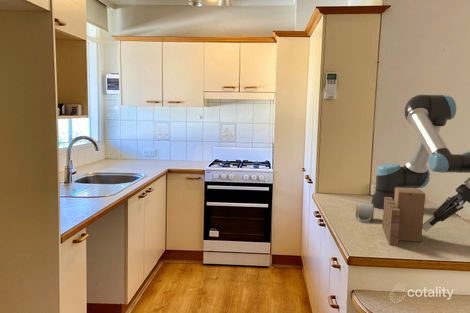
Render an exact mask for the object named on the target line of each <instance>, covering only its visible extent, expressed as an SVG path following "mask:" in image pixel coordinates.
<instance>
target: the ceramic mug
mask: <svg viewBox="0 0 470 313" xmlns="http://www.w3.org/2000/svg"><path fill="white" fill-rule="evenodd" d="M374 210H375V207H374V204H371V203H358V204H356V206H355V218H356V219H357V220H358V221H359V222H361V223H364V222H366V223H369V222H370V221H374V216H375V215H374V214H375V212H374Z"/></svg>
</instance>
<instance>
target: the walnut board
mask: <svg viewBox="0 0 470 313" xmlns="http://www.w3.org/2000/svg"><path fill="white" fill-rule="evenodd" d="M382 210H383V214H382V225H381V226H382V230H383V232H384V235H385V238H386V241H387V243H388V245H389V246H396V247H397V246H399V245H398V243H399V240H398V233H399V220H400V210H399V208H398V207H397V205H396V203H395V202H394V200H393V199H392V197H384V209H382Z"/></svg>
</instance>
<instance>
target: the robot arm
mask: <svg viewBox="0 0 470 313" xmlns="http://www.w3.org/2000/svg"><path fill="white" fill-rule="evenodd" d="M456 113H457V105H456V100H455V99H454V98H453V97H452V96H450V95H446V94H445V95H444V94H417V95H415V96H413V97H411V98H410V99H409V100H408V101H407V103H406V104H405V106H404V117H405V119H406V121H407V123H408V124H411V125H412V127H413V129H414V130H415V132H416V133H417V137H416V140H415V144H414V146H413V149H412V151H411V154H410V157H409V159H408V160H406V161H405V163H404V166H400V165H401V164H400V163H399V164H398V163H383V164H379V165H378V166H377V169H376V174H375V176H376V177H375V191H374V194H373V196H372V198H371V201H370V204H374V208H376V209H381V210H384V197H392V199H393V200H394V195H395V188H396V187H398V188H412V189H422V188H425V187H426V186H427V185H428V184H429V181H430V178H431V177H430V176H431V173H430V171H431V172H435V173H464V174H465V173H466V174H468V173H469V174H470V151H466V152H463V153H462V154H459V153H457V154H454V153H453V154H452V153H451V151H450V149H449V148H448V146H447V145H446V143H445V142H444V139H442V137H441V135H440V133H439V132H440V130H441V128H442V127H445V126H446V124H447V122H448V121H450V120H453V119H454V118H455V116H456ZM427 164H428V166H427ZM455 192H456V194H455V195H453V196H448V197H447V199H446V200H445V201H444V202H443V203H442V204H441V205H440V206H438V207H437V209H436V210H434V211H433V213H432V216H431V217H430V218H428V219H427V220H426V221H424V222H423V227H422V230H424V231H425V232H428V231H429V230H430V229H432V228H433V227H434V226H435V225H436V224H438V223H439V222H444V221H445V220H447V219H449V218H450V217H452V215H454V214H456V213H457V212H459V211H461V210H462V209H464V208H465V207H464V205H465V203H466V202H467V203H468V204H470V176H469V177H468V178H467V179H466V180H464V181H463V183H462V184H460V185H459V186H458V187H457V188H455Z"/></svg>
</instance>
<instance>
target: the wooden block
mask: <svg viewBox="0 0 470 313" xmlns="http://www.w3.org/2000/svg"><path fill="white" fill-rule="evenodd" d="M425 201H426V193H425V192H424V191H423V190H422V189H421V188H416V189H415V188H398V187H396V188H395V195H394V202H395V203H396V205H397V207H398V208H399V210H400V220H399V233H398V241H404V242H405V241H406V242H415V243H416V242H417V243H421V242H422V238H423V237H422V236H423V228H422V227H423V224H424V213H425V204H426V202H425Z"/></svg>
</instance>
